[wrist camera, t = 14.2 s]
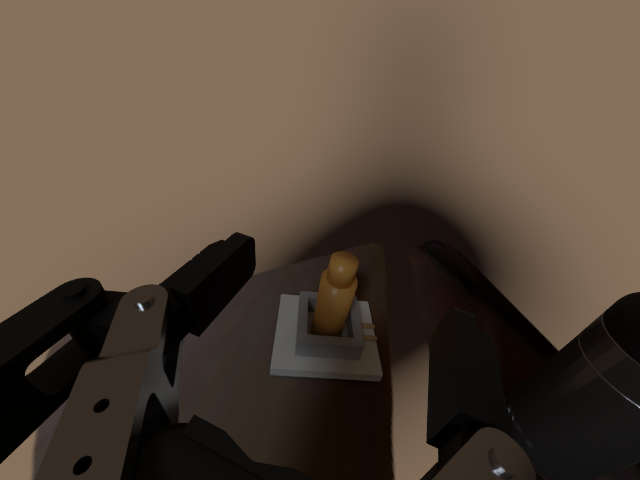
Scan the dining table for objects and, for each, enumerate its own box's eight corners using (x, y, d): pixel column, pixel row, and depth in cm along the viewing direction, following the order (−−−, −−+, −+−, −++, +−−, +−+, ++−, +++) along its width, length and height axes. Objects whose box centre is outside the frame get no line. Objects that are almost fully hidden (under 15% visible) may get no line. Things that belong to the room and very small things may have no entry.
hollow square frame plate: (366, 307, 44) (373, 288, 41) (380, 381, 34) (391, 362, 31) (280, 300, 42) (282, 280, 40) (270, 374, 33) (271, 354, 30)
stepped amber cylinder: (340, 318, 39) (360, 250, 32) (342, 345, 36) (366, 275, 28) (311, 316, 39) (324, 246, 31) (310, 343, 35) (326, 271, 28)
